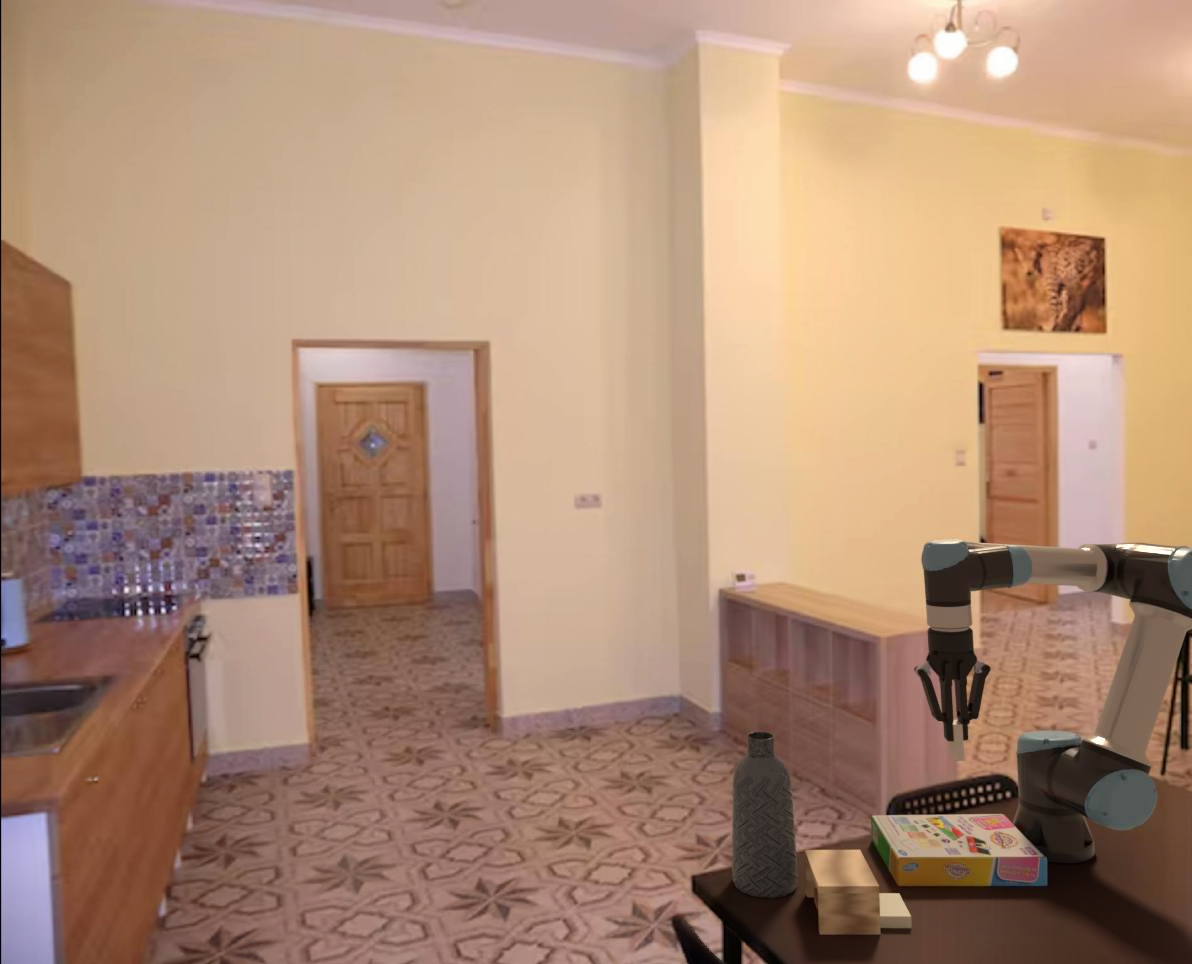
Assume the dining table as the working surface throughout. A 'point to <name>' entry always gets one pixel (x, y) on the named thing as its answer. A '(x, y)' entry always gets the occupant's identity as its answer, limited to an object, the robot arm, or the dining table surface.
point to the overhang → (843, 892)
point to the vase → (763, 822)
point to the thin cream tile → (893, 911)
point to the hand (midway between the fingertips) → (957, 758)
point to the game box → (957, 850)
